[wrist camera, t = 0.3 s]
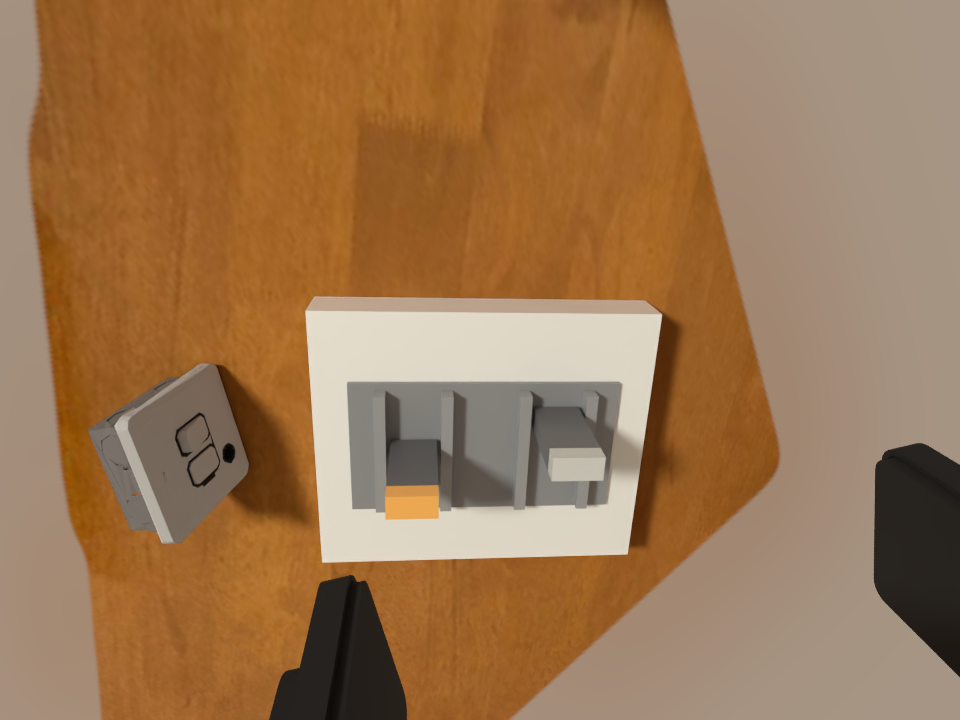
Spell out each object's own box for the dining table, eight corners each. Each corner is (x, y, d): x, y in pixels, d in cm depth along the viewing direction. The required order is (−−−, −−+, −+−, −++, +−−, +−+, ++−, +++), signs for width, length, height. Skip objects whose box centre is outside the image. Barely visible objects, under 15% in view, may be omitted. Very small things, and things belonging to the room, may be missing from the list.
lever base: (314, 296, 44) (279, 351, 33) (644, 300, 46) (710, 353, 35) (328, 533, 51) (304, 641, 40) (614, 527, 53) (662, 627, 43)
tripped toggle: (390, 439, 44) (384, 497, 37) (436, 439, 44) (438, 496, 37) (391, 459, 44) (385, 519, 38) (436, 459, 45) (438, 518, 38)
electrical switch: (253, 468, 48) (202, 545, 40) (189, 476, 49) (125, 555, 40) (216, 357, 45) (152, 415, 36) (148, 367, 45) (68, 426, 37)
